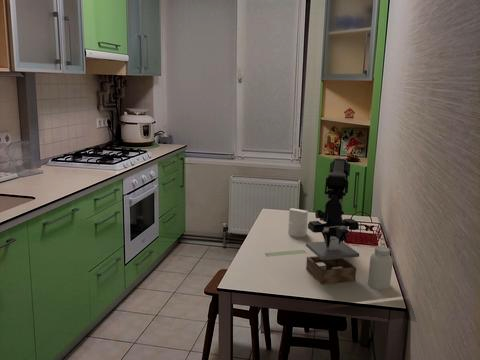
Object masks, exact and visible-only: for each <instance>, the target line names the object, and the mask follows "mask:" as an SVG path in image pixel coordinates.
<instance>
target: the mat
mask: <svg viewBox="0 0 480 360" xmlns="http://www.w3.org/2000/svg"><path fill="white" fill-rule="evenodd" d="M264 254H265V255H266V256H267V257H268V258H269V257H278V256H291V255H302V254H308V252H307V251H306V250H305V249H299V250H298V249H297V250H285V251H274V252H273V251H272V252H271V251H270V252H265V253H264Z"/></svg>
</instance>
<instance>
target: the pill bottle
mask: <svg viewBox="0 0 480 360" xmlns="http://www.w3.org/2000/svg"><path fill="white" fill-rule="evenodd" d="M390 254H391V249H390V248H389V247H386V246H382V245H380V246H375V248H374V253H373V254H371V256H370V259H369V266H368V268H369V269H368V277H367V285H368V286H369V287H371V288H373V289H376V290H388V289H390V287H391V279H392V271H393V262H394V261H393V260H394V259H393V257H392V256H391V255H390Z"/></svg>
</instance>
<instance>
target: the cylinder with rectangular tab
mask: <svg viewBox="0 0 480 360" xmlns="http://www.w3.org/2000/svg"><path fill="white" fill-rule="evenodd" d="M288 213H289V214H288V230H287V231H288V232H287V233H288V235H289V236H292V237H295V238H296V237H297V238H300V237H301V238H302V236H303V237H306V236H307V232H308V231H307V230H308V215H309V214H308V213H309V211H308V210H304V209H298V208H293V207H291V208H289V212H288Z"/></svg>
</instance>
